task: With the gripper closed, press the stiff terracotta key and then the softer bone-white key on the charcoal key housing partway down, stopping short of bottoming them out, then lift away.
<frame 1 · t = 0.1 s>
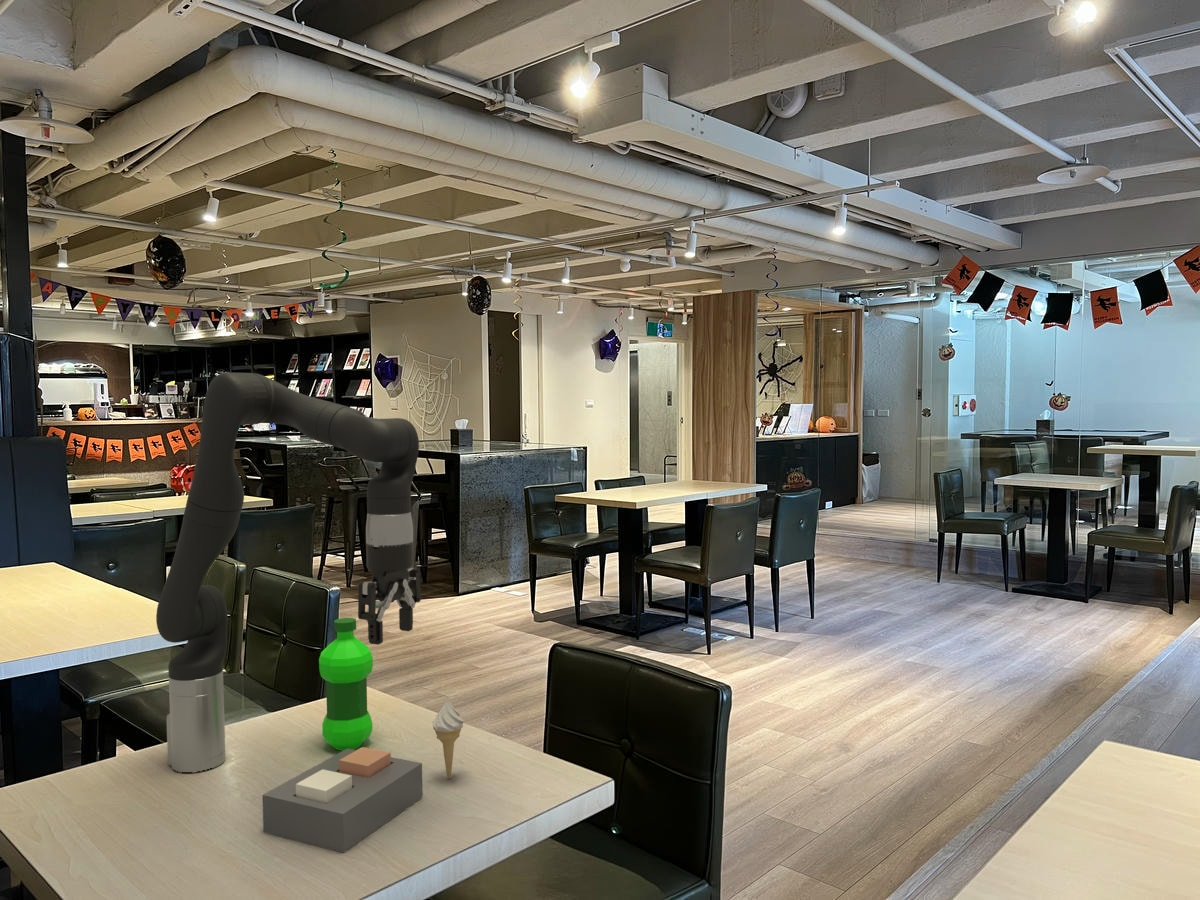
hand: (391, 636, 145), 29 cm above the table, tool pointing down, fingers open, 8 cm apart
plastic bottle: (347, 746, 172), on the table
ice cream cone: (448, 780, 157), on the table
key housing: (346, 814, 144), on the table
white key: (324, 789, 139), point 6 cm above the table, slide at 0.0 cm
terracotta key: (365, 764, 148), point 6 cm above the table, slide at 0.0 cm
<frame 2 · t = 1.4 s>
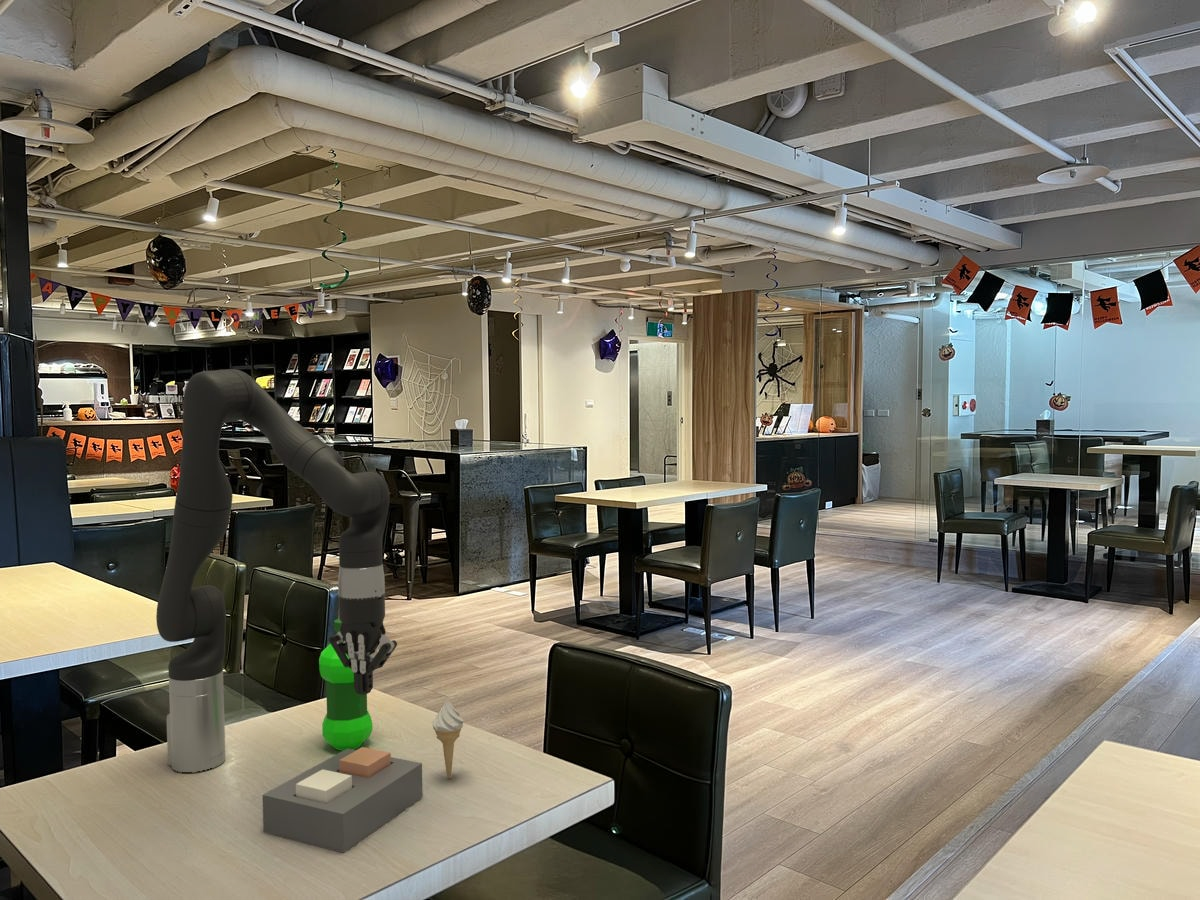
hand: (363, 693, 147), 19 cm above the table, tool pointing down, fingers closed
nothing on the table moved.
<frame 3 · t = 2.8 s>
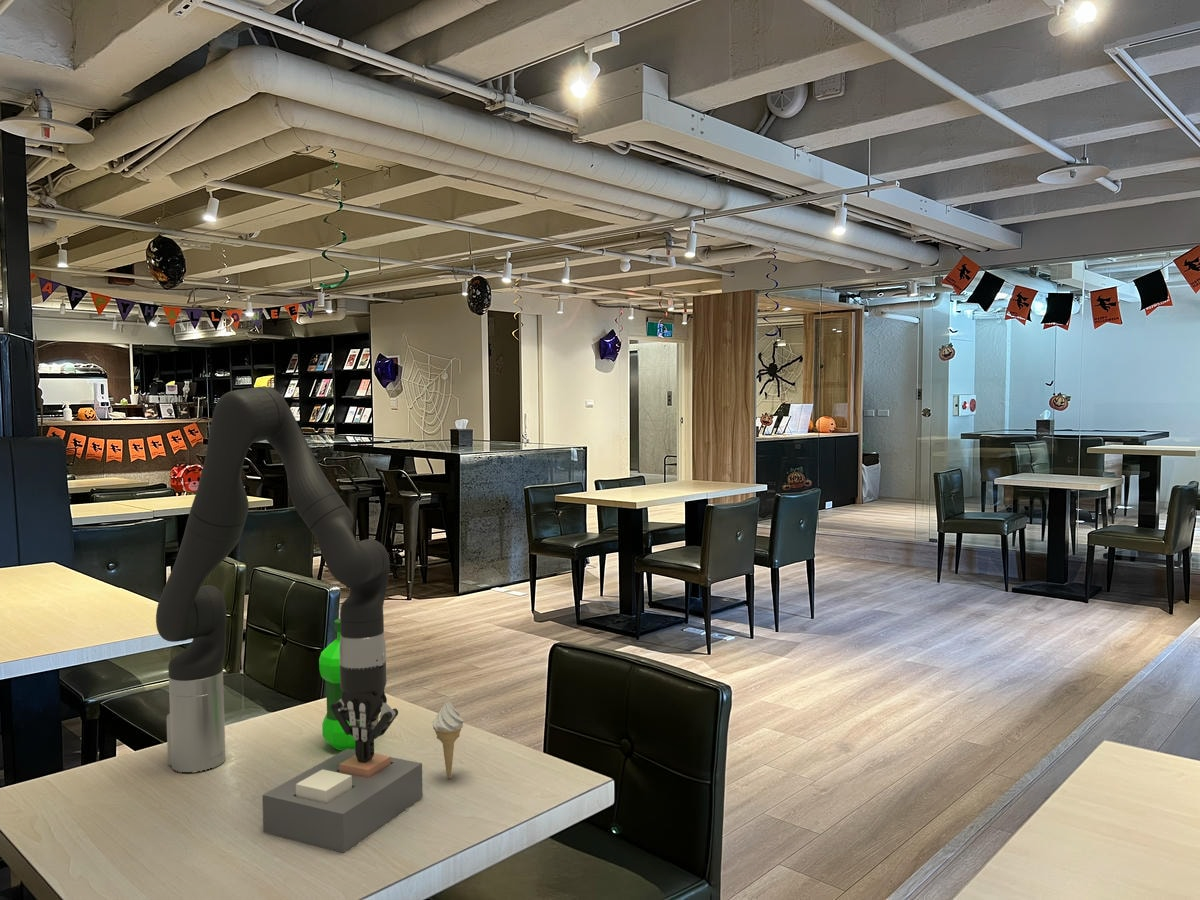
hand: (365, 760, 148), 7 cm above the table, tool pointing down, fingers closed
terracotta key: (365, 768, 148), point 6 cm above the table, slide at 0.7 cm, touching gripper
everything else where it was.
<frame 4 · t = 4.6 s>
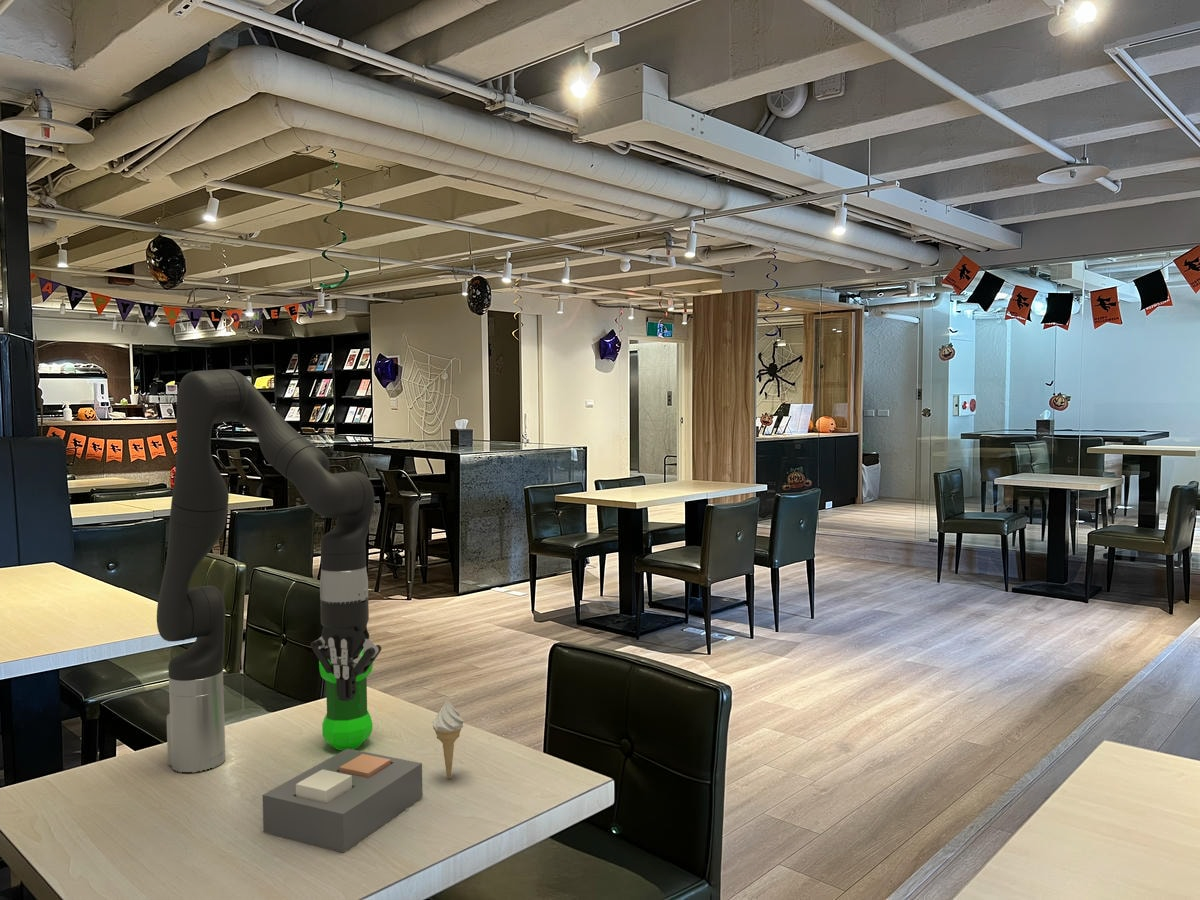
hand: (346, 699, 143), 19 cm above the table, tool pointing down, fingers closed
terracotta key: (365, 771, 148), point 5 cm above the table, slide at 1.2 cm
everything else where it was.
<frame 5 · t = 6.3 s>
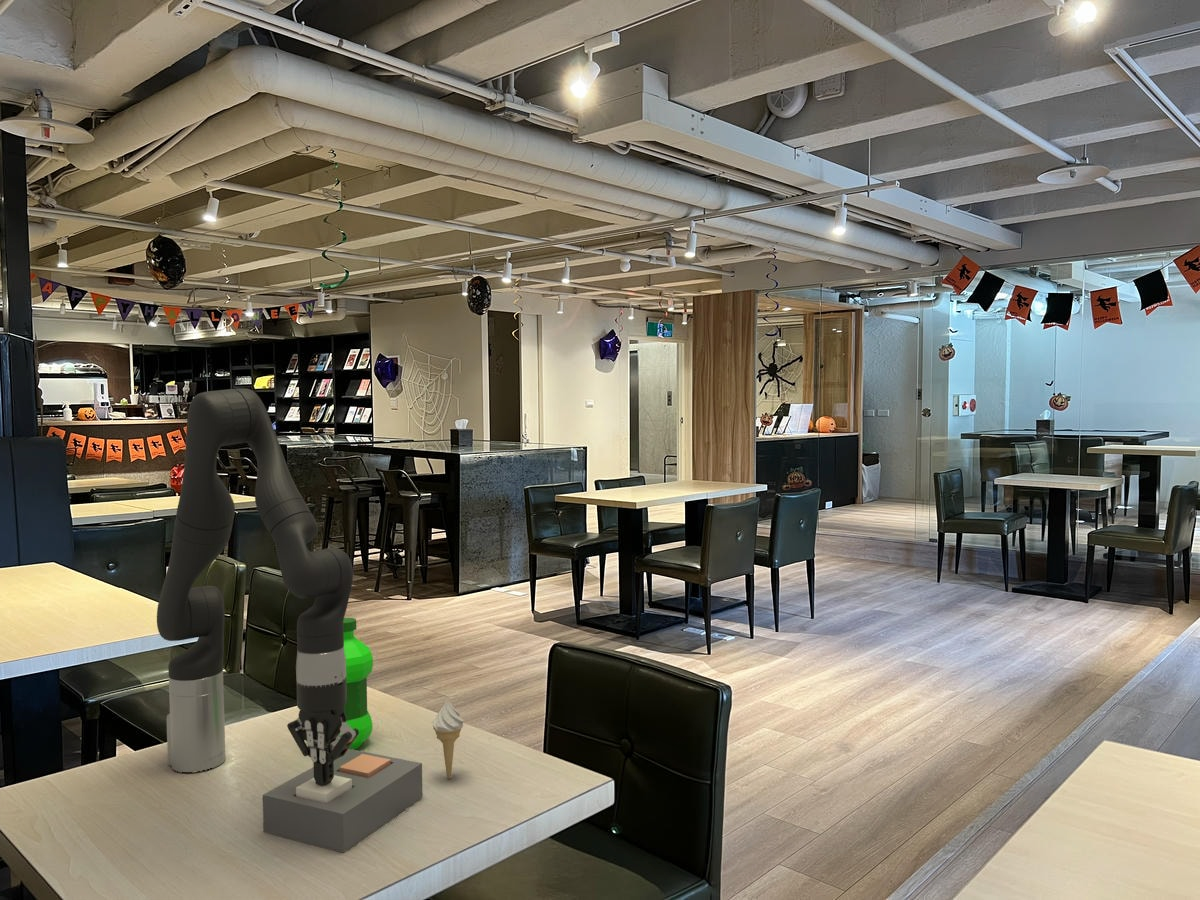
hand: (324, 783, 139), 7 cm above the table, tool pointing down, fingers closed
white key: (324, 792, 139), point 6 cm above the table, slide at 0.6 cm, touching gripper
everything else where it was.
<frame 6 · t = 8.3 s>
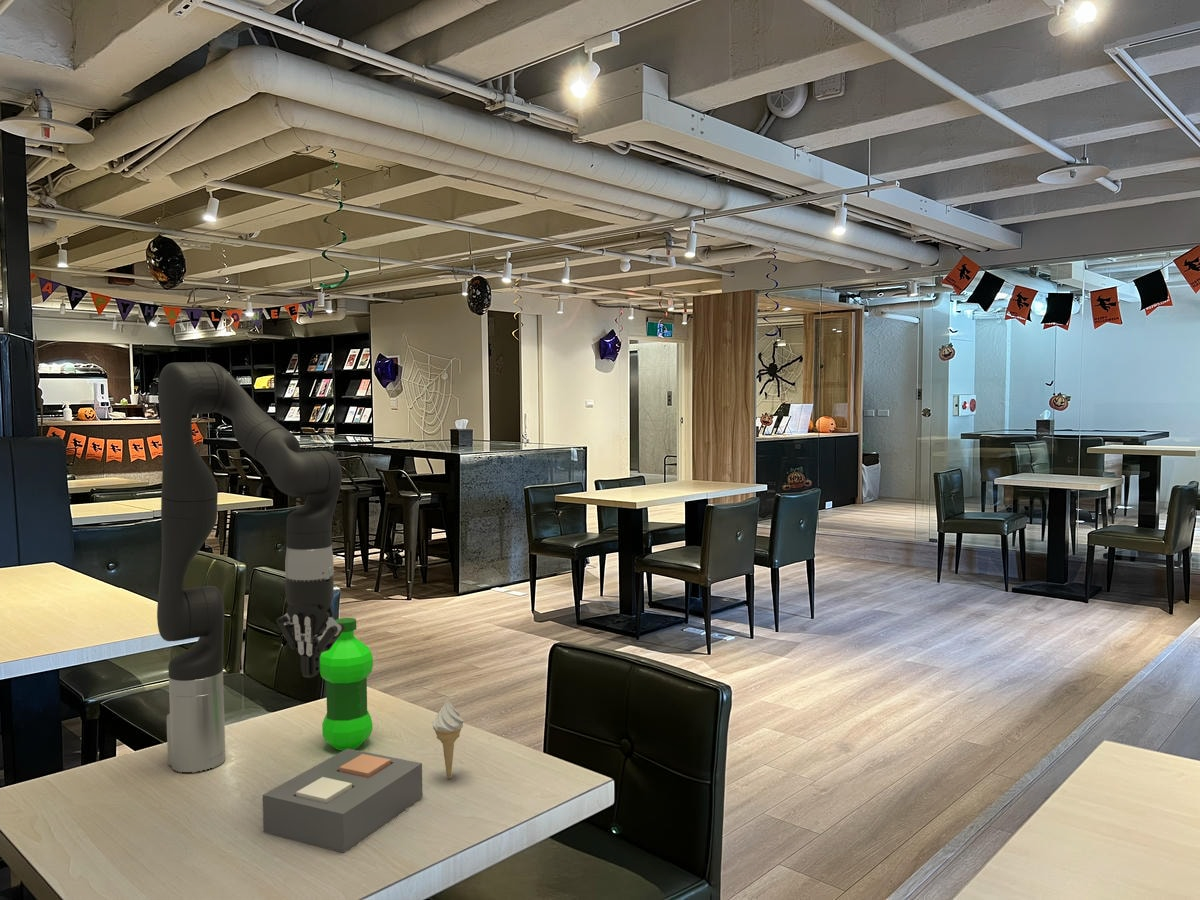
hand: (310, 675, 145), 22 cm above the table, tool pointing down, fingers closed
white key: (324, 796, 139), point 5 cm above the table, slide at 1.3 cm
everything else where it was.
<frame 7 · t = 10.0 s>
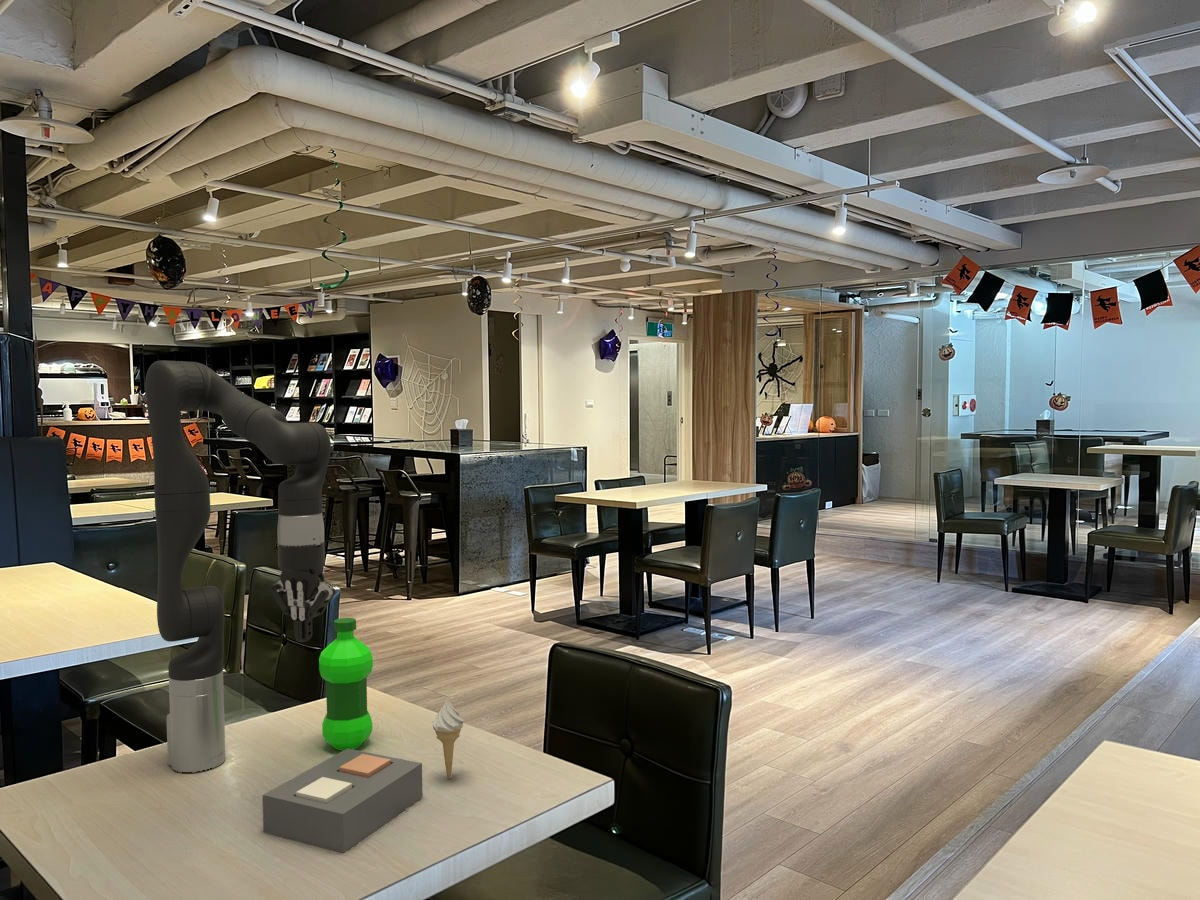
hand: (303, 640, 149), 27 cm above the table, tool pointing down, fingers closed
nothing on the table moved.
at the end: terracotta key slide at 1.2 cm; white key slide at 1.3 cm; ice cream cone moved 0.2 cm from its start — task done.
